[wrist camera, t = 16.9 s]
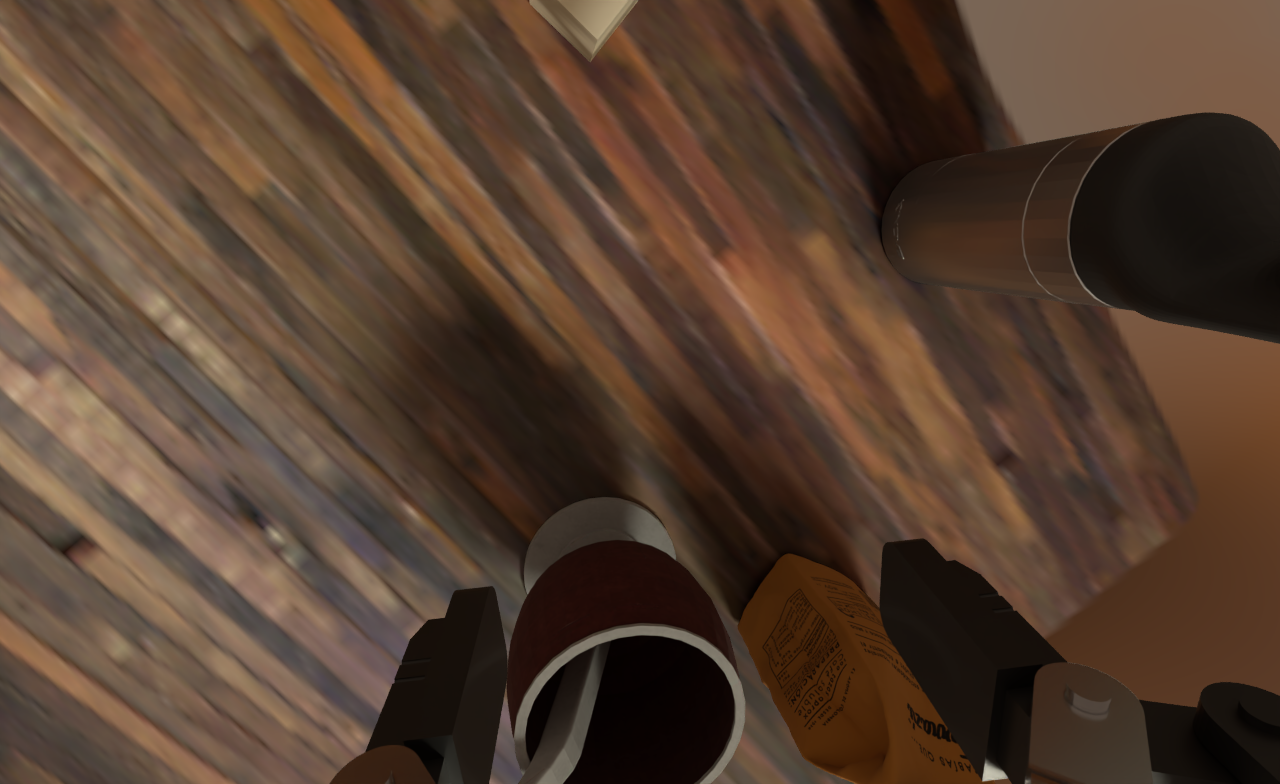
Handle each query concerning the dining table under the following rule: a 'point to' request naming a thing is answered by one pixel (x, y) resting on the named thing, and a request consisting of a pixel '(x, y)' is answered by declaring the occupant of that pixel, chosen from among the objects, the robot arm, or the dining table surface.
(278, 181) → the dining table surface
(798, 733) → the coffee package
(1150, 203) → the robot arm
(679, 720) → the mate gourd
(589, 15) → the letter block
